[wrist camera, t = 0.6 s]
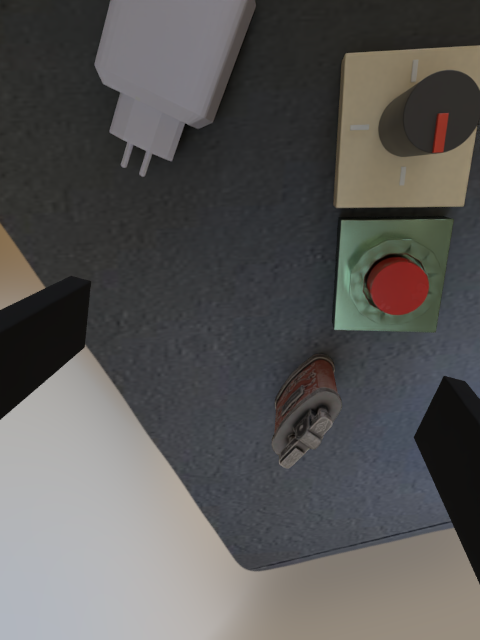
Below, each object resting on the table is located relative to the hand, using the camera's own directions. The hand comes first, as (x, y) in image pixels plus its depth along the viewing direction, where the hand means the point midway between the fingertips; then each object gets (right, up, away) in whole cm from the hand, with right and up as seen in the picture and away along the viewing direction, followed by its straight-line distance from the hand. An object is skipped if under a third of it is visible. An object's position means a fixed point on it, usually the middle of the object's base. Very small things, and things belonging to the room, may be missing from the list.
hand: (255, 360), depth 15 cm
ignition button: (+12, +5, +19) cm, 23 cm away
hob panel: (+12, +17, +18) cm, 28 cm away
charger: (-6, +21, +19) cm, 29 cm away
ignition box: (+13, +6, +22) cm, 26 cm away
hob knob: (+12, +16, +16) cm, 26 cm away
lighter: (+6, -5, +28) cm, 29 cm away
